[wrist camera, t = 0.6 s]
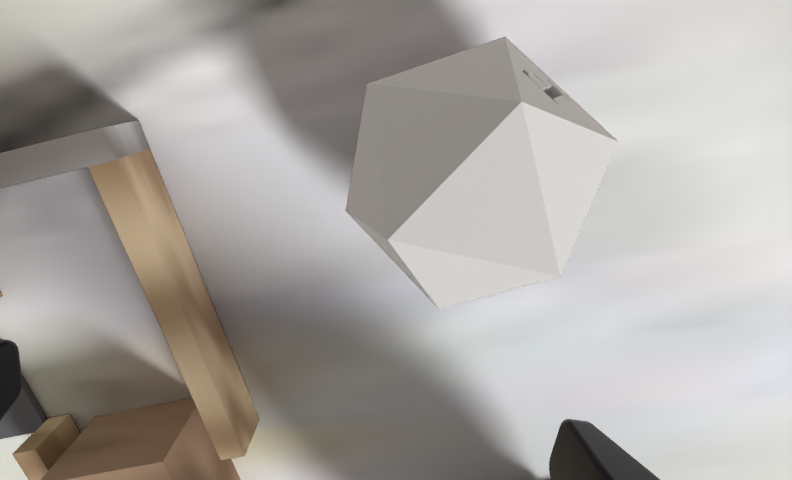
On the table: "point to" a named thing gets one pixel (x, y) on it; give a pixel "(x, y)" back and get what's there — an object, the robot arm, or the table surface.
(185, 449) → the walnut block
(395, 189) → the die
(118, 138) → the tunnel
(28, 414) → the pit mat
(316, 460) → the table surface
